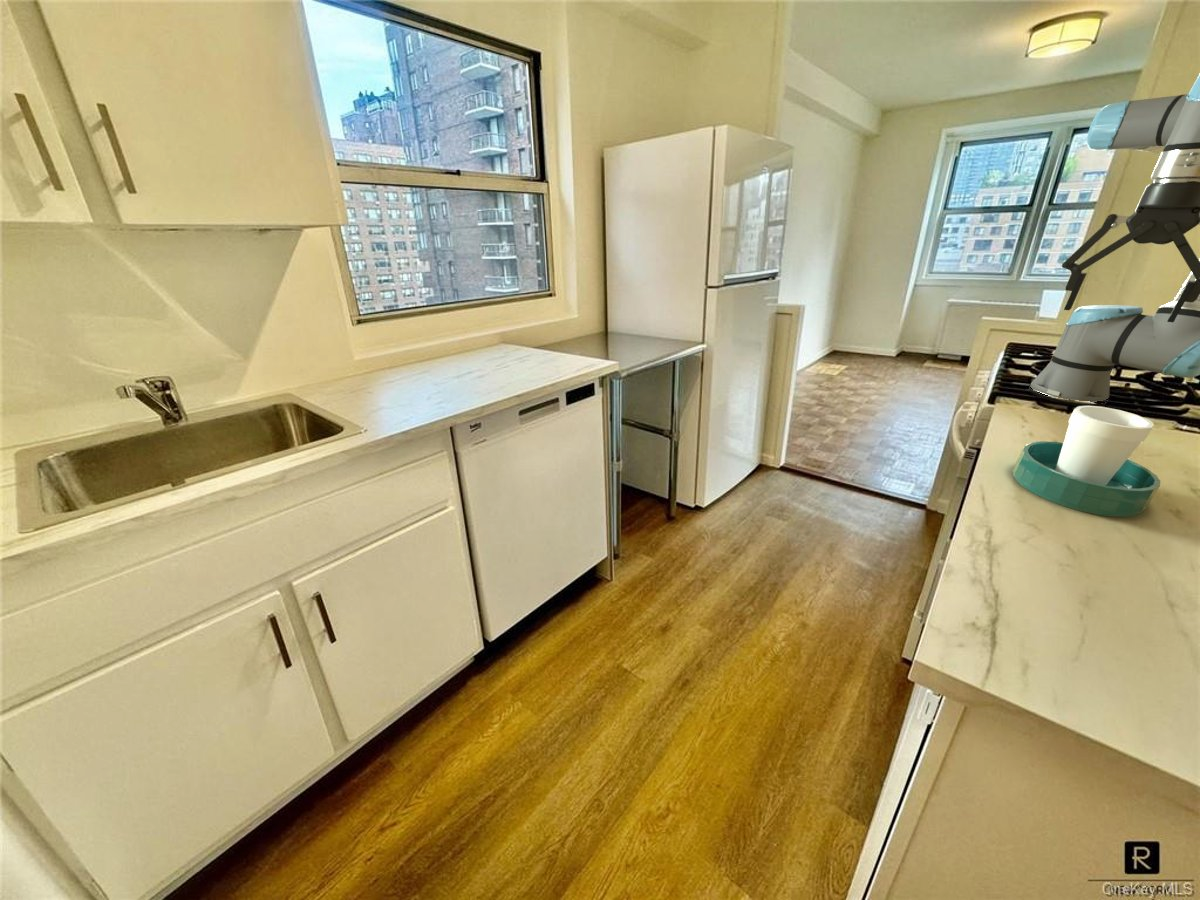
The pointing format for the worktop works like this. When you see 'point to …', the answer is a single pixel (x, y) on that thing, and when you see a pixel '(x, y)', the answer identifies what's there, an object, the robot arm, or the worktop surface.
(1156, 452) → the worktop surface
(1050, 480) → the teal plant saucer
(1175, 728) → the worktop surface
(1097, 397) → the robot arm
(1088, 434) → the foam cup
